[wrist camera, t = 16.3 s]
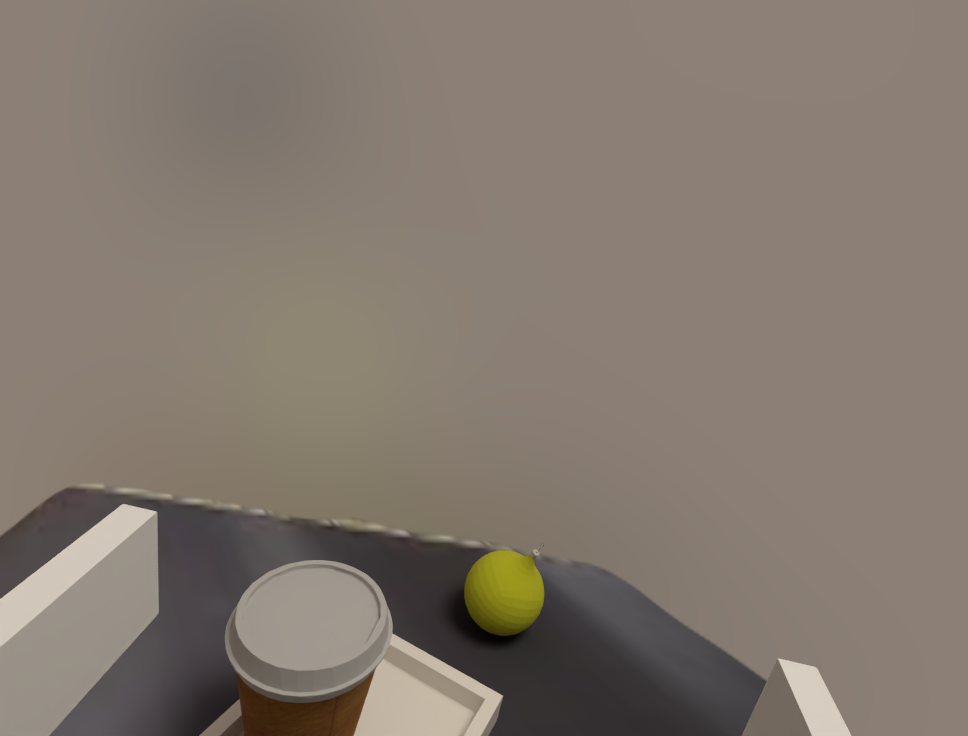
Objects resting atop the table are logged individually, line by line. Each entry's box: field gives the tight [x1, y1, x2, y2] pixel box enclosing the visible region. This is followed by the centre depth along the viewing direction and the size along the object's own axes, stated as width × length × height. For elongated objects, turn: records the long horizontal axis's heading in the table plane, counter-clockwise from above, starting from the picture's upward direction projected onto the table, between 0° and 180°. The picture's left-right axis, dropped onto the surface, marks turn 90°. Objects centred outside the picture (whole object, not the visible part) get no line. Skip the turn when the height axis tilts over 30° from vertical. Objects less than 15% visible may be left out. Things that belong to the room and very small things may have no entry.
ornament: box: [464, 549, 544, 636], centre depth 52 cm, size 7×7×10 cm
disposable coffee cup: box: [225, 560, 393, 736], centre depth 36 cm, size 10×10×12 cm
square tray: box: [199, 634, 503, 736], centre depth 40 cm, size 15×15×2 cm
